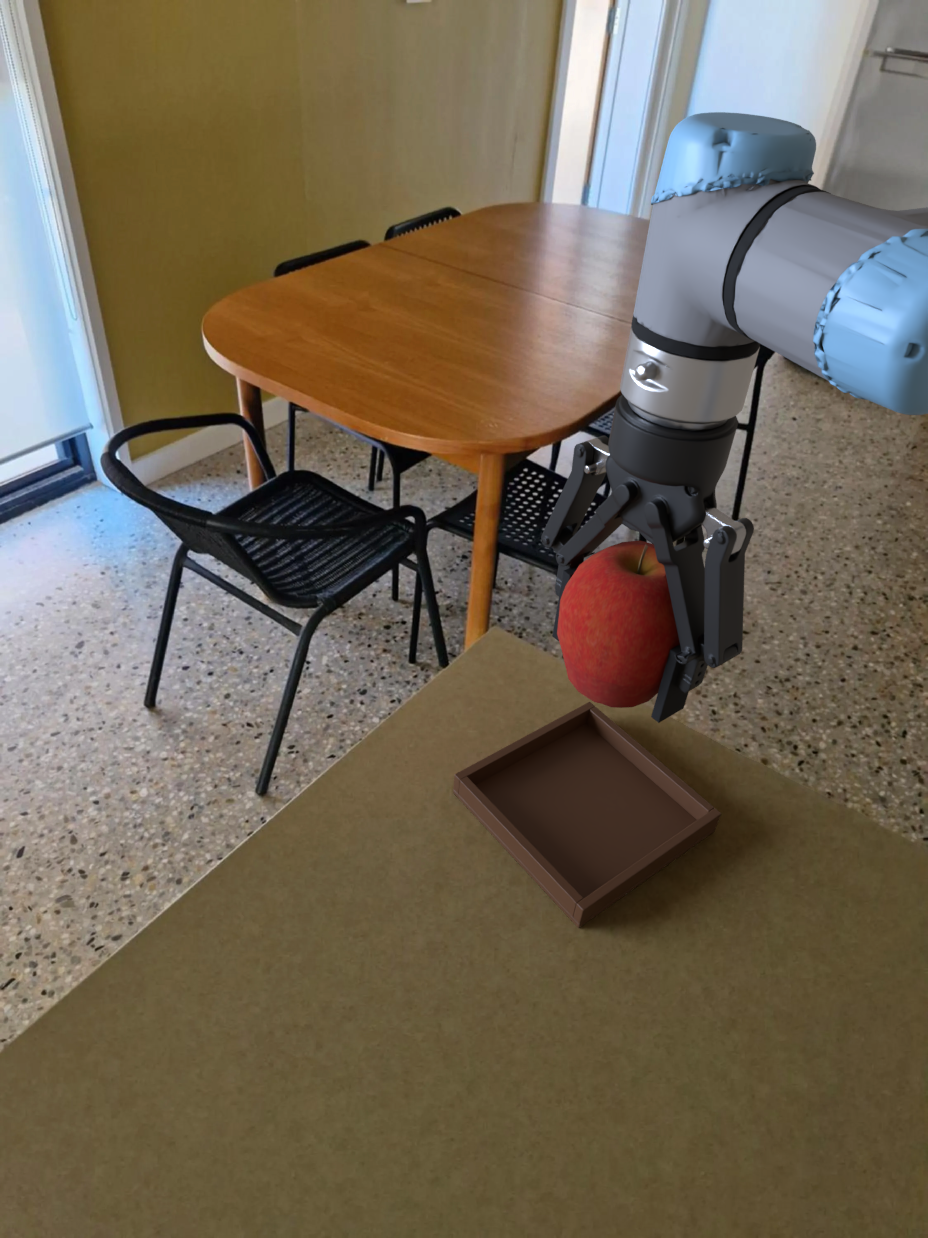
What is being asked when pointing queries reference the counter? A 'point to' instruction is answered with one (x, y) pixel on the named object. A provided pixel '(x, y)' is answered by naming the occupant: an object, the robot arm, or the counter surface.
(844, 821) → the counter surface
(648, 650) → the apple
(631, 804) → the tray
